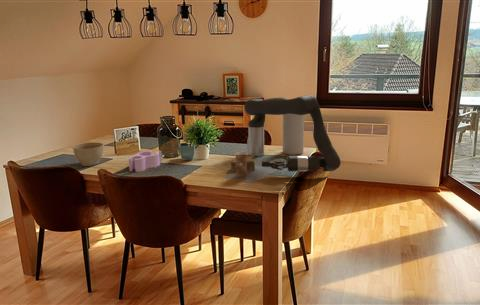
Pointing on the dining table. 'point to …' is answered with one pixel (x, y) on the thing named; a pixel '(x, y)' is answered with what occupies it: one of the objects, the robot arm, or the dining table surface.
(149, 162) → the clip
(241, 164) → the one dot tile
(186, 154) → the flower pot
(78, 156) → the planter bowl
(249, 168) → the two dot tile
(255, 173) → the felt board
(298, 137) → the cylinder vase
